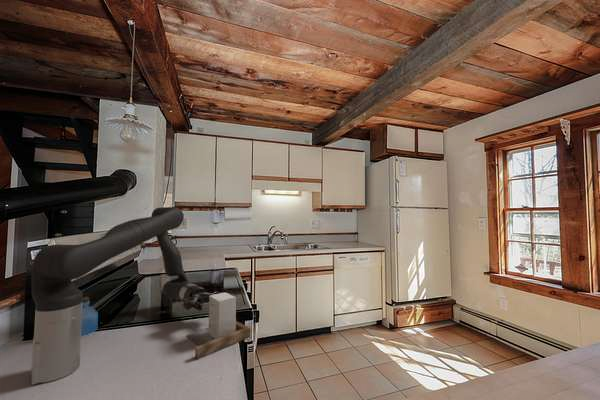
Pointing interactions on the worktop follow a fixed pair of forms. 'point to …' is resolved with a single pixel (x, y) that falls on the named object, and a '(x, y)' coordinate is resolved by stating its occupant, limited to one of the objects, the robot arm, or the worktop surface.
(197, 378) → the worktop surface
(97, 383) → the worktop surface
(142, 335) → the worktop surface
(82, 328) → the perfume bottle
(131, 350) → the worktop surface
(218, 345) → the wooden tray
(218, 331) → the small box
